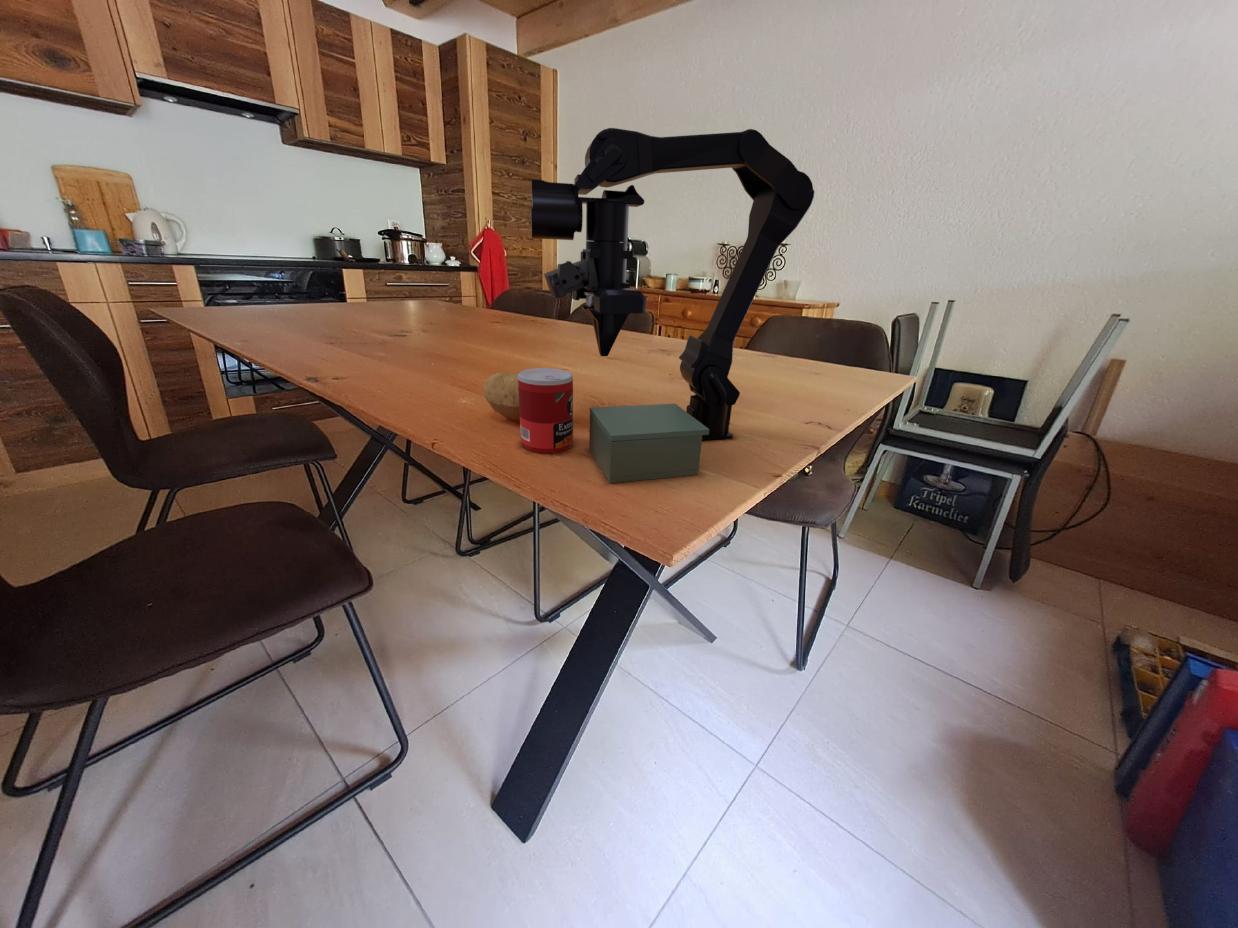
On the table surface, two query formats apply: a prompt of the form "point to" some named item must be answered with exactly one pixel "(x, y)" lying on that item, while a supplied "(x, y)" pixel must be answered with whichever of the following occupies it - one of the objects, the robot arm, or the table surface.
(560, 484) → the table surface
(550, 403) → the canned food
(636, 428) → the lid
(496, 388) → the potato
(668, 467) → the chest
